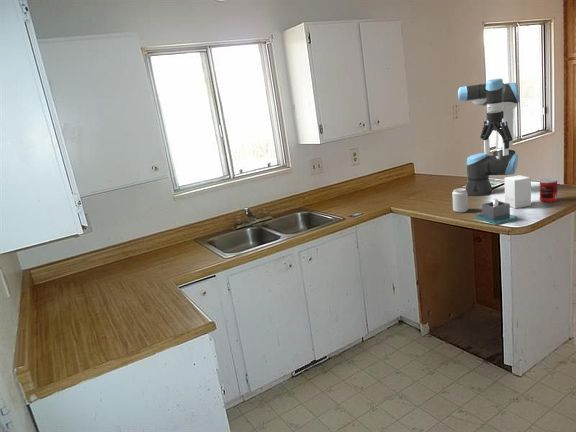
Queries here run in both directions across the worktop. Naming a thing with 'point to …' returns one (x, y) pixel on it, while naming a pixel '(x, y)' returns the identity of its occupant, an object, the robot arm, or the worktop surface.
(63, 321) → the worktop surface
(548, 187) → the canned food
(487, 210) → the grey open box
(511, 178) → the supplement box
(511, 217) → the plate
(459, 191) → the can
